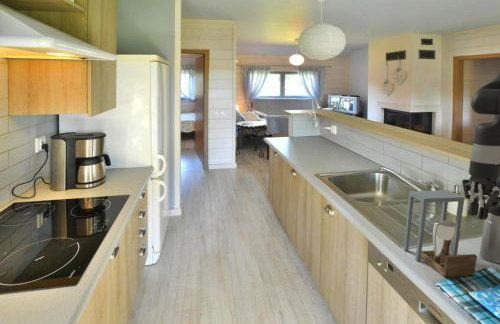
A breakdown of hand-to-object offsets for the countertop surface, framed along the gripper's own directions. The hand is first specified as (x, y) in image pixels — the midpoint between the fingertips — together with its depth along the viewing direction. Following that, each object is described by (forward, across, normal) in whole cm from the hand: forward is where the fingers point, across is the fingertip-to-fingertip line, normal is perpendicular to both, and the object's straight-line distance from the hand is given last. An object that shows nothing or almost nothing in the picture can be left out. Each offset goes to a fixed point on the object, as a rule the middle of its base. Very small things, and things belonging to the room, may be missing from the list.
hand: (477, 216), depth 99 cm
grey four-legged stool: (+23, -22, +2) cm, 32 cm away
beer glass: (+23, -15, +2) cm, 28 cm away
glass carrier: (+23, -13, +1) cm, 26 cm away
